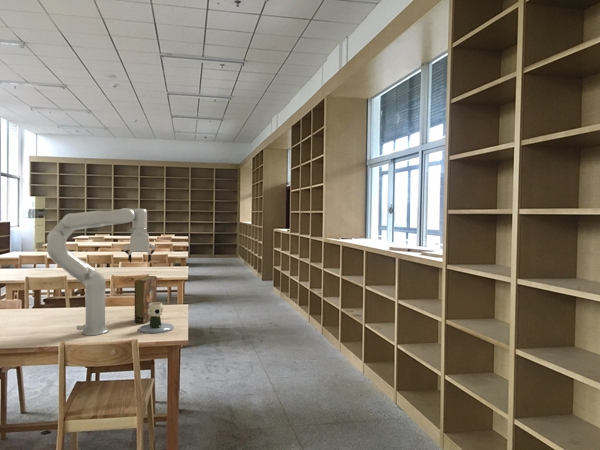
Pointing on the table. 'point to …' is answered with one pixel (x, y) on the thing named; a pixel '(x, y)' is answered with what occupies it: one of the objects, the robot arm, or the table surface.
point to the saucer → (162, 329)
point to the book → (144, 297)
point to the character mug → (155, 314)
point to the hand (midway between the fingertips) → (139, 262)
